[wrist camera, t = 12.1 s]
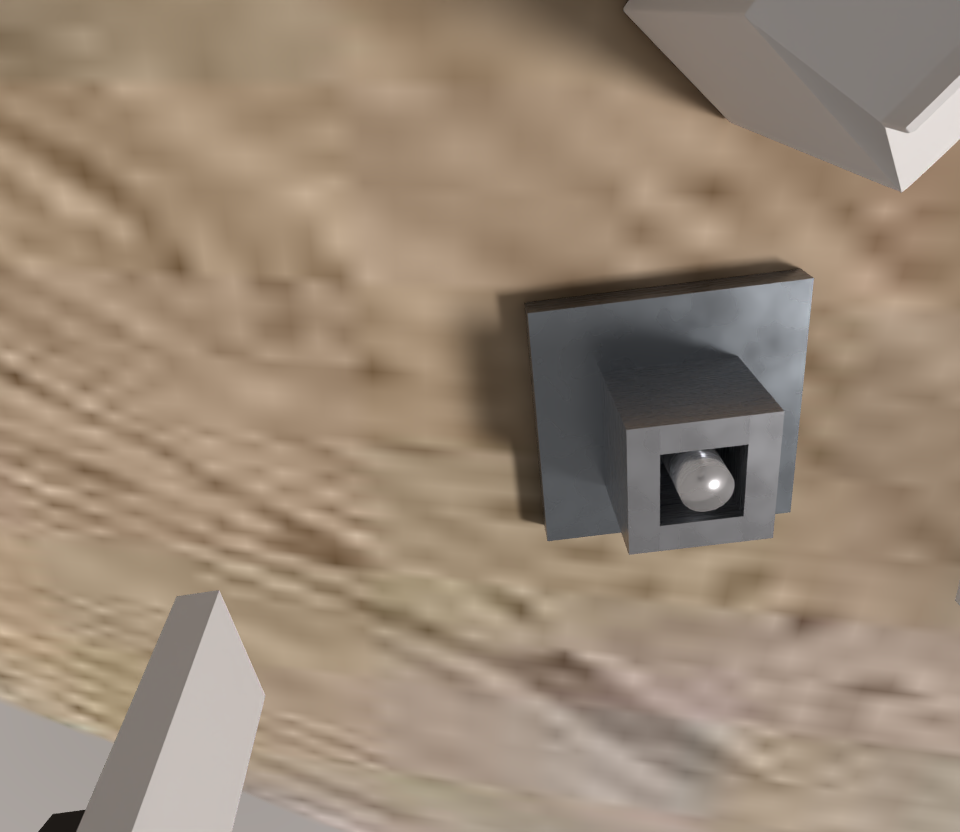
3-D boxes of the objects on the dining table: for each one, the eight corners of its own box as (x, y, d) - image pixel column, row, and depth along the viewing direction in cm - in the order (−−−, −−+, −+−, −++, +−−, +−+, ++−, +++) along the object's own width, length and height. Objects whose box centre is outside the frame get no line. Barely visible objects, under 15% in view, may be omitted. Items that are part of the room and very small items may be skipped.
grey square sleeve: (601, 372, 39) (626, 430, 34) (737, 355, 39) (784, 411, 34) (605, 486, 42) (628, 554, 37) (731, 471, 42) (772, 537, 37)
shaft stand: (524, 302, 39) (543, 369, 32) (801, 268, 38) (882, 328, 31) (544, 525, 45) (563, 621, 38) (779, 497, 45) (842, 588, 38)
